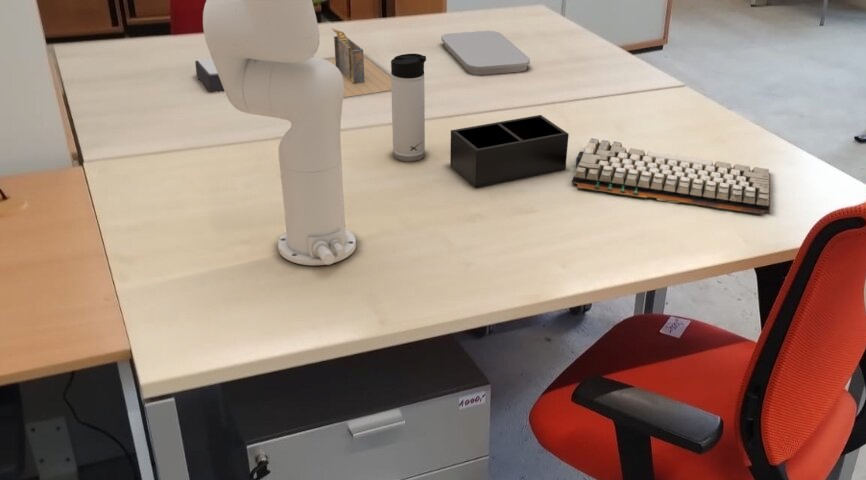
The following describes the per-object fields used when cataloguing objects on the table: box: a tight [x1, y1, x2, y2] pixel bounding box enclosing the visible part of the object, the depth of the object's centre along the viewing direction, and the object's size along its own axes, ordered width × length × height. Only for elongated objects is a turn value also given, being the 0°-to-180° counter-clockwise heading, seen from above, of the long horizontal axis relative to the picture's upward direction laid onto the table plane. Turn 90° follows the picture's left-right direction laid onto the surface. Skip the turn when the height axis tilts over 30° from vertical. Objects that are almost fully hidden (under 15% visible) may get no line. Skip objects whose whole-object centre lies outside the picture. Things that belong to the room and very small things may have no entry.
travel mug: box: [390, 53, 427, 163], centre depth 181 cm, size 6×7×20 cm
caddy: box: [449, 114, 569, 189], centre depth 182 cm, size 10×20×8 cm, turn 119°
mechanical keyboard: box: [571, 137, 771, 215], centre depth 181 cm, size 38×19×3 cm, turn 77°
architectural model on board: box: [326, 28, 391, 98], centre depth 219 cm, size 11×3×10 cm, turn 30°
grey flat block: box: [440, 30, 531, 76], centre depth 237 cm, size 16×26×2 cm, turn 21°
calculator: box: [194, 58, 224, 92], centre depth 216 cm, size 11×4×15 cm
